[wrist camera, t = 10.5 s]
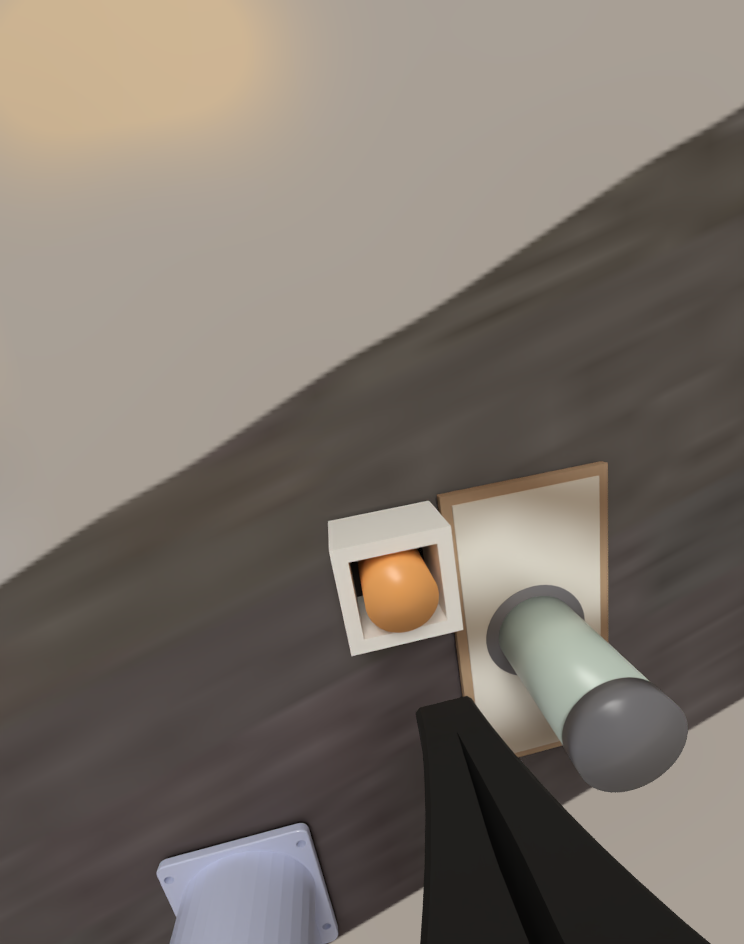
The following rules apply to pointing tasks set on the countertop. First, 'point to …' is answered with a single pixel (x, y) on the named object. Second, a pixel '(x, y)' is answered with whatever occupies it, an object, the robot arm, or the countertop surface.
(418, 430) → the countertop surface
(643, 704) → the ink stamp
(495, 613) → the sketch pad
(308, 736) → the countertop surface
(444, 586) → the button box
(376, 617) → the button
